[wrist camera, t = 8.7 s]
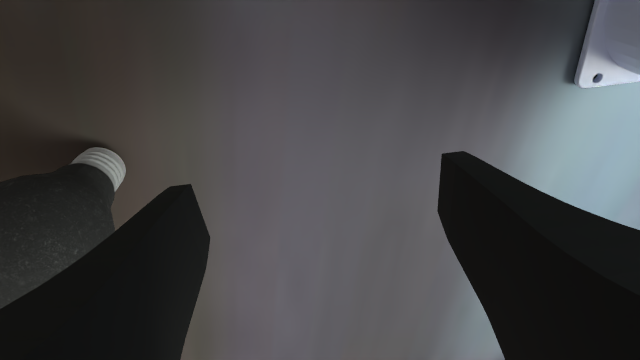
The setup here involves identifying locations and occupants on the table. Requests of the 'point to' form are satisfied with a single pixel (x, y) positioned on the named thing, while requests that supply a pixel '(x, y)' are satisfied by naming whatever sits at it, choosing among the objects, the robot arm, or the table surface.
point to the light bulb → (55, 219)
